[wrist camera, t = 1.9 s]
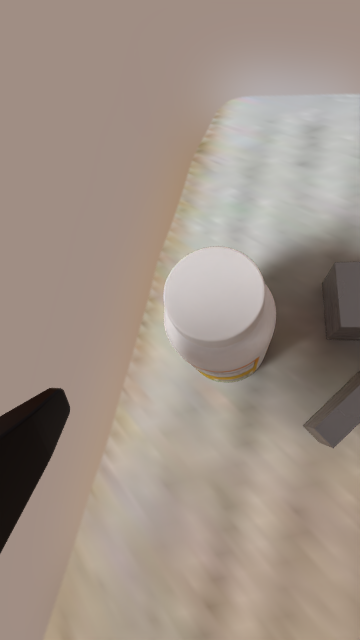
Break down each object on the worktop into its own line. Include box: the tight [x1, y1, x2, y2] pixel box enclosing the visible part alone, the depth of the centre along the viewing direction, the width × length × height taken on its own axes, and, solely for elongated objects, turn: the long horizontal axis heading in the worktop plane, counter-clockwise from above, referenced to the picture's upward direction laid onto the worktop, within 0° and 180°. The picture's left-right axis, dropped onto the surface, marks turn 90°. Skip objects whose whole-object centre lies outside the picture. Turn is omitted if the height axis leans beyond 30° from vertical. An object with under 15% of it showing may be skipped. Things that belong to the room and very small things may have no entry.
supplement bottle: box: [163, 246, 276, 383], centre depth 16 cm, size 5×5×10 cm
